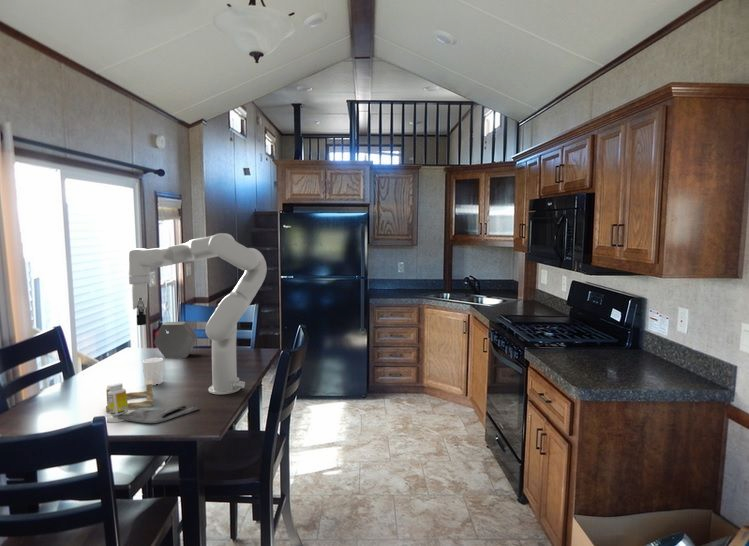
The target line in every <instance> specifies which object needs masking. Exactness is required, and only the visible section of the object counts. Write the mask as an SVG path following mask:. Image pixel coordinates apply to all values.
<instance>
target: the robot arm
mask: <svg viewBox="0 0 749 546" xmlns="http://www.w3.org/2000/svg"><path fill="white" fill-rule="evenodd" d="M216 257H218V258H220V259H222V260H224V261H225V262H227V263H229V264H231V265H232V266H234V267H236V268H237V269H240V270H241V271H244V272H243V274H242V276H241V277H240V279H239V280H238V282H237V283H236V285H235V286H234V287H233V289H232V290H231V291H230V293H228V294H226V296H225V295H224V297H223V298H222V299H221V301H220V302H219V303H218V304H217V307H216V308H215V310H214V311H213V313H212V315H211V316H210V318H209V320H208V321H207V322H206V325H205V328H204V329H205V335H206V336H207V338H208V339H209V340H210V341H211V374H212V375H211V376H212V377H211V379H212V380H211V381H212V384H211V385H210V386H209V387H208V392H209V393H210V394H212V395H230V394H234V393H236V392H239V391H240V390H241V389H244V388H245V385H246V382H245V381H241V380H240V377H238V375H237V372H238V371H237V367H238V366H237V335H238V333H237V332H238V322H239V321H240V320H241V318H242V317H243V315H244V314H245V313H246V312H247V310H248V308H249V306H250V305H251V304H252V301H253V300H254V298H255V297H256V295H257V293H258V291H259V290H260V288H261V287H262V285H263V283H264V281H265V279H266V276H267V271H268V269H267V262H266V259H265V257H264V255H263V254H262V252H260V250H258V249H257V248H253V247H246V246H245V245H243V244H241V243H240V242H238V241H236V240H235V238H234V236H232V234H229V233H227V232H226V233H223V232H220V233H216V234H214V235H209V236H204V237H198V238H193V239H190V240H189V241H187V242H185V243H180V244H177V245H171V246H166V247H156V248H148V249H147V248H130V249H129V250H128V252H127V259H128V260H127V261H128V262H127V263H128V281H129V282H128V283H129V285H132V287H131V289H132V290H131V293H132V295H131V297H132V309H133V311H134V310H136V325H137V326H145V325H147V314H146V313H147V312H146V309H147V308H148V293H149V292H148V284H149V285H150V284H151V283H152V282H151V268H163V267H167V266H172V265H177V264H181V263H182V264H183V263H186V262H196V261H202V260H203V261H204V260H206V259H211V258H216Z"/></svg>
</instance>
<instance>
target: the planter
mask: <svg viewBox="0 0 749 546" xmlns="http://www.w3.org/2000/svg"><path fill="white" fill-rule="evenodd" d="M167 332H168V333H167ZM197 339H198V335H197V333H195V331H194V330H193V328H191V326H190V325H189V323H188V321H166V322H164V323H162V324H161V325H160V328H159V329H158V332H157V335H156V337H155V339H154V342H153V344H154V346H156V348H157V349H158V351H159V352H160V353H161V354H162V356H163V357H164V359H186V358H188V357H189V355H191V352H192V350H193V348H194V346H195V343H196V340H197Z"/></svg>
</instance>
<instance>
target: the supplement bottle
mask: <svg viewBox="0 0 749 546" xmlns="http://www.w3.org/2000/svg"><path fill="white" fill-rule="evenodd" d="M109 385H110V386H109ZM109 385H108V386H109V388H110V391H109V392H108V400H109V408H110V412H109V413H110V414H111V415H112V416H117V415H122V414H125V413H127V412H128V410H129V409H128V403H129V402H128V399H127V396H126V393H127V390H126V388H124V385H123V383H122V382H121V383H120V382H119V383H114V384H109Z"/></svg>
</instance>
